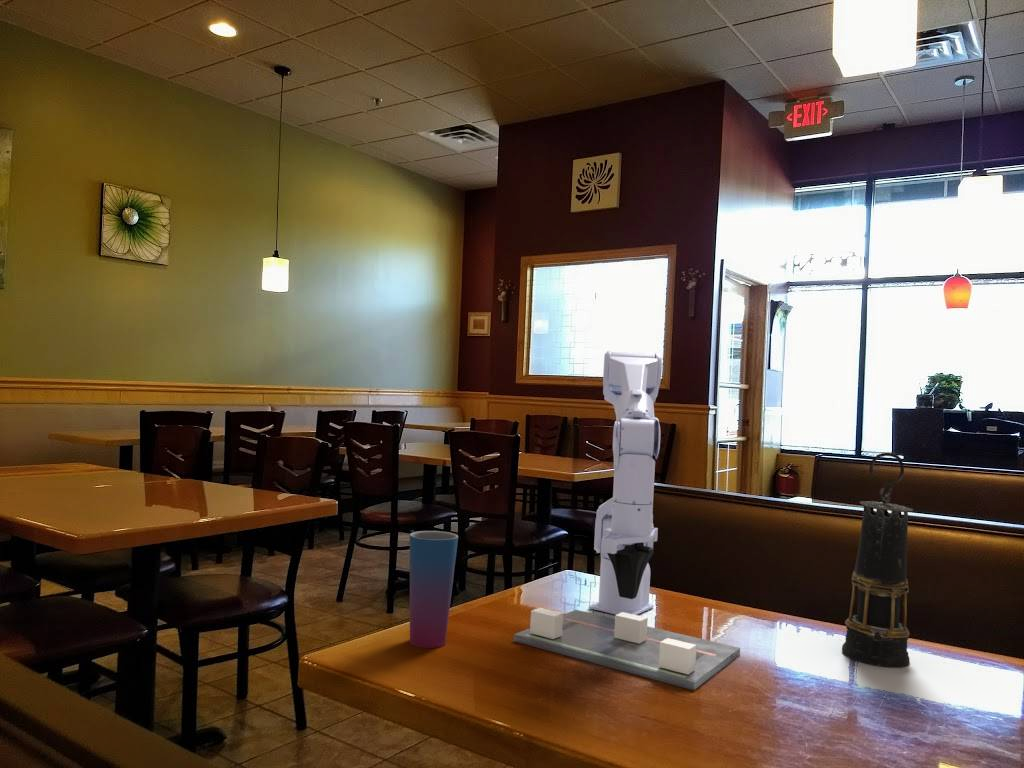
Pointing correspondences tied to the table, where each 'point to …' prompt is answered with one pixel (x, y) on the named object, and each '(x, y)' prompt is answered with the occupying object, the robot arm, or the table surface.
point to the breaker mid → (630, 627)
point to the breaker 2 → (677, 656)
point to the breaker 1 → (546, 623)
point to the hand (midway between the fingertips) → (627, 597)
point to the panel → (630, 649)
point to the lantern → (880, 583)
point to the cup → (431, 586)
